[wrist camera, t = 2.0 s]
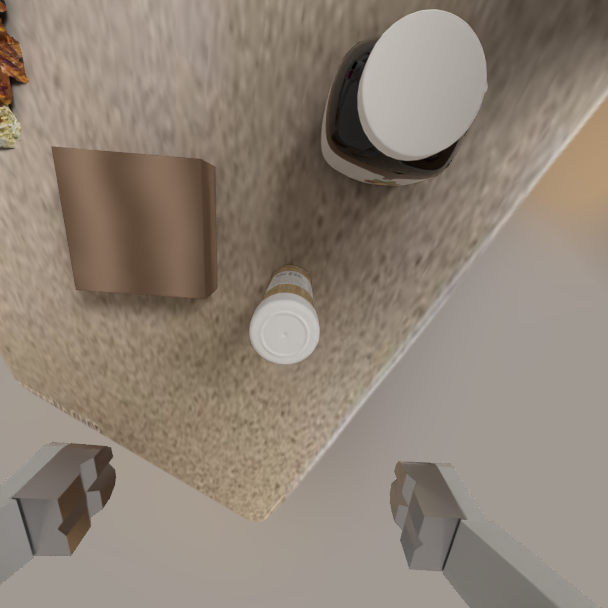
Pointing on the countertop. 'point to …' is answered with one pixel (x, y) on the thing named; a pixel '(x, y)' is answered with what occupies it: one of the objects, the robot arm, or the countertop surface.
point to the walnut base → (139, 222)
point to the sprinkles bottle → (286, 318)
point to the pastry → (3, 62)
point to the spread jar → (404, 100)
